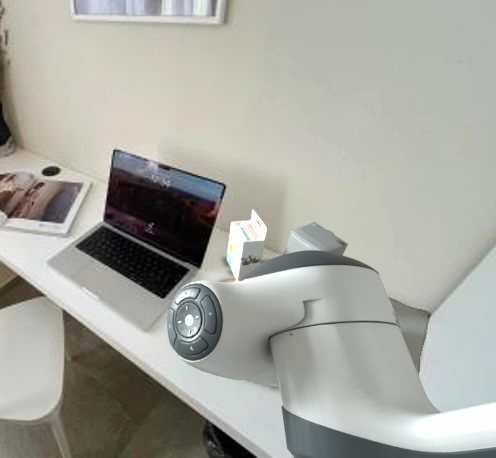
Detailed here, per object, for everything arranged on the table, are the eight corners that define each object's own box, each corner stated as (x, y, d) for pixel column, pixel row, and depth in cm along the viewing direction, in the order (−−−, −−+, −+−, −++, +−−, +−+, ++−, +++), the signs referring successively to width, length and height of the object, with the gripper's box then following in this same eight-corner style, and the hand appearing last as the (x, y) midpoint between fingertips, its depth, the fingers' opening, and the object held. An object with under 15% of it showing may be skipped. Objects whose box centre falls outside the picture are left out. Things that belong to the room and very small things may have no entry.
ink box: (225, 259, 90) (231, 209, 82) (245, 257, 90) (253, 207, 82) (236, 282, 83) (245, 230, 75) (258, 280, 83) (269, 228, 75)
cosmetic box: (272, 283, 83) (286, 229, 73) (296, 272, 84) (313, 218, 75) (302, 308, 76) (322, 253, 67) (327, 296, 78) (350, 241, 68)
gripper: (374, 409, 33) (407, 414, 41) (229, 271, 48) (274, 294, 57) (323, 451, 35) (364, 447, 43) (199, 304, 50) (247, 322, 58)
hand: (312, 359), depth 50 cm, fingers open, 8 cm apart
